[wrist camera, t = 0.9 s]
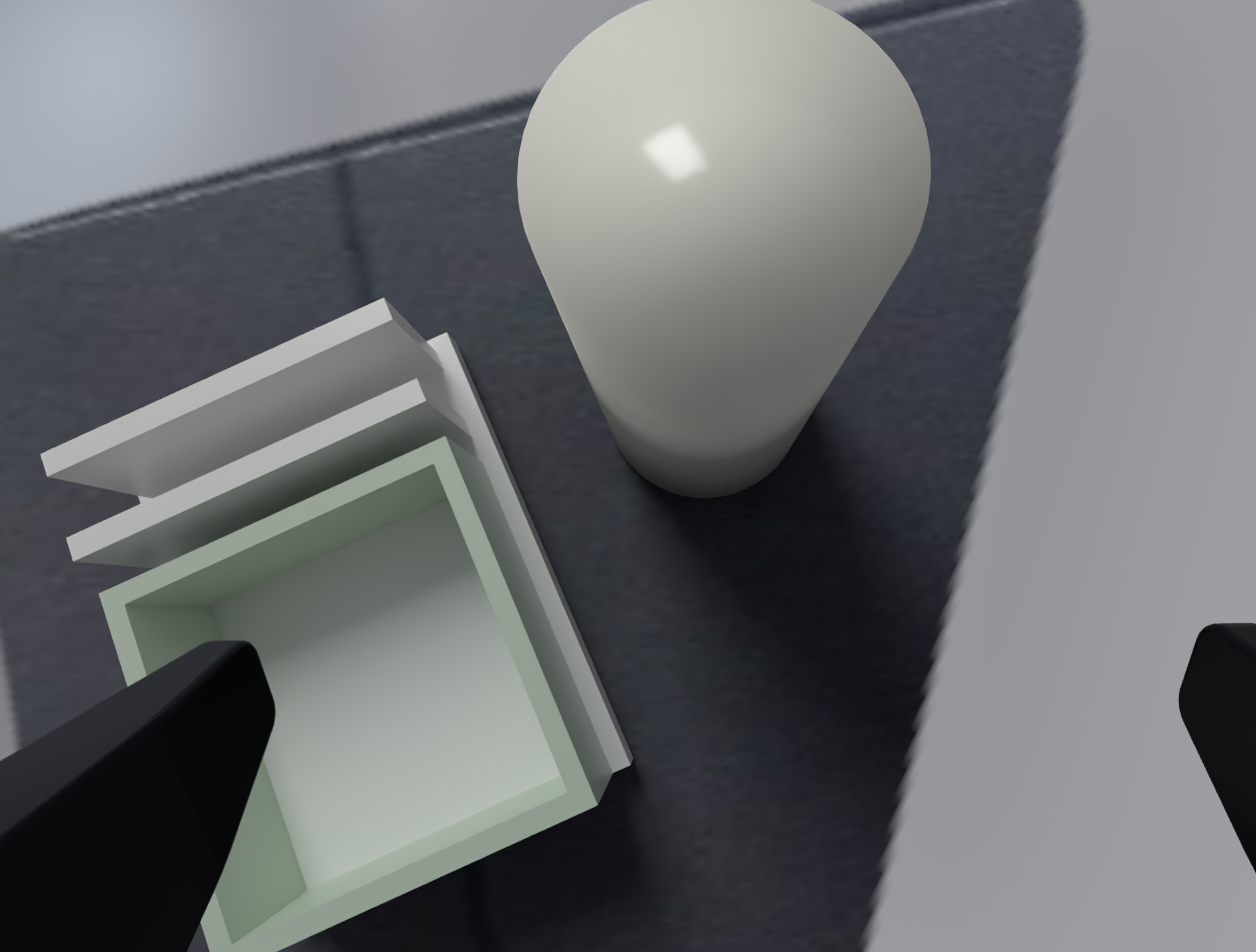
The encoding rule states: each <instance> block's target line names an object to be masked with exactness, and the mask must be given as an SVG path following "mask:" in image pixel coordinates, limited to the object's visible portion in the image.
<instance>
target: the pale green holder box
mask: <svg viewBox="0 0 1256 952" xmlns="http://www.w3.org/2000/svg"><path fill="white" fill-rule="evenodd" d="M40 455H41V458H42V461H43V464H44V468H45V471H46V474H47V477H51V478H56V479H61V480H66V481H70V482H75V483H80V484H85V485H89V486H94V487H99V488H104V489H109V490H113V491H118V492H123V493H128V494H132V495H137V496H138V497H139V500H140V503H141V504H140V505H137V506H135V507H133V508H131V509H129V510H126V511H124V512H122V513H120V514H118V515H115V516H113V517H111V518H109V519H107V520H104V521H102V522H100V523H98V524H96V525H93V526H91V527H89V528H87V529H85V530H82V531H80V532H78V533H76V534H74V535H72V536H69V537H67V538H66V539H67V543H68V546H69V549H70V552H71V556H72V559H73V561H74V562H86V563H98V564H111V565H123V566H135V567H148V568H154V569H152V570H150V571H148V572H145V573H143V574H141V575H139V576H137V577H134V578H132V579H130V580H128V581H126V582H123V583H121V584H119V585H117V586H115V587H112V588H110V589H108V590H106V591H104V592H101V593H99V596H100V599H101V602H102V606H103V609H104V612H105V615H106V619H107V622H108V625H109V628H110V631H111V635H112V638H113V641H114V644H115V648H116V651H117V654H118V657H119V660H120V664H121V667H122V670H123V673H124V677H125V680H126V683H127V686H130V685H132V684H133V683H135V682H137V681H139V680H140V679H142V678H144V677H145V676H147V675H149V674H151V673H152V672H154V671H156V670H158V669H159V668H161V667H163V666H164V665H166V664H168V663H170V662H171V661H173V660H175V659H176V658H178V657H180V656H182V655H183V654H185V653H187V652H188V651H190V650H192V649H194V648H195V647H197V646H199V645H201V644H202V643H205V642H208V641H213V640H245V641H248V642H250V643H251V644H252V645H253V646H254V647H255V648H256V650H257V652H258V655H259V657H260V660H261V663H262V666H263V669H264V672H265V675H266V678H267V681H268V684H269V686H270V689H271V692H272V695H273V698H274V702H275V709H276V715H275V723H274V727H273V731H272V733H271V736H270V739H269V742H268V745H267V748H266V751H265V754H264V757H263V759H262V762H261V765H260V768H259V771H258V774H257V777H256V780H255V783H254V785H253V788H252V791H251V794H250V797H249V800H248V803H247V806H246V809H245V811H244V814H243V817H242V820H241V823H240V826H239V829H238V832H237V835H236V837H235V840H234V843H233V846H232V849H231V851H230V854H229V857H228V859H227V862H226V865H225V867H224V870H223V872H222V875H221V877H220V879H219V882H218V884H217V886H216V889H215V891H214V893H213V895H212V898H211V900H210V902H209V904H208V906H207V909H206V911H205V913H204V915H203V917H202V919H201V925H202V928H203V931H204V934H205V938H206V941H207V944H208V947H209V950H210V952H277V951H279V950H281V949H283V948H286V947H288V946H290V945H292V944H294V943H297V942H299V941H301V940H303V939H305V938H307V937H310V936H312V935H314V934H316V933H318V932H321V931H323V930H325V929H327V928H329V927H332V926H334V925H336V924H338V923H340V922H343V921H345V920H347V919H349V918H351V917H354V916H356V915H358V914H360V913H362V912H365V911H367V910H369V909H371V908H373V907H376V906H378V905H380V904H382V903H384V902H387V901H389V900H391V899H393V898H395V897H398V896H400V895H402V894H404V893H406V892H408V891H411V890H413V889H415V888H417V887H419V886H422V885H424V884H426V883H428V882H430V881H433V880H435V879H437V878H439V877H441V876H444V875H446V874H448V873H450V872H452V871H455V870H457V869H459V868H461V867H463V866H466V865H468V864H470V863H472V862H474V861H477V860H479V859H481V858H483V857H485V856H488V855H490V854H492V853H494V852H496V851H498V850H501V849H503V848H505V847H507V846H509V845H512V844H514V843H516V842H518V841H520V840H523V839H525V838H527V837H529V836H531V835H534V834H536V833H538V832H540V831H542V830H545V829H547V828H549V827H551V826H553V825H556V824H558V823H560V822H562V821H564V820H567V819H569V818H571V817H573V816H575V815H578V814H580V813H582V812H584V811H586V810H589V809H591V808H593V807H595V806H597V805H598V804H599V802H600V800H601V797H602V795H603V793H604V791H605V789H606V787H607V785H608V783H609V781H610V778H611V776H612V774H613V773H614V772H616V771H619V770H621V769H623V768H625V767H627V766H630V765H631V763H632V760H633V756H632V754H631V751H630V749H629V747H628V744H627V742H626V740H625V737H624V735H623V733H622V730H621V728H620V726H619V723H618V721H617V719H616V716H615V714H614V711H613V709H612V707H611V704H610V702H609V700H608V697H607V695H606V693H605V690H604V688H603V686H602V683H601V681H600V679H599V676H598V674H597V672H596V669H595V667H594V665H593V662H592V660H591V657H590V655H589V653H588V650H587V648H586V646H585V643H584V641H583V639H582V636H581V634H580V632H579V629H578V627H577V625H576V622H575V620H574V618H573V615H572V613H571V611H570V608H569V606H568V604H567V601H566V599H565V596H564V594H563V592H562V589H561V587H560V585H559V582H558V580H557V578H556V575H555V573H554V571H553V568H552V566H551V564H550V561H549V559H548V557H547V554H546V552H545V550H544V547H543V545H542V542H541V540H540V538H539V535H538V533H537V531H536V528H535V526H534V524H533V521H532V519H531V517H530V514H529V512H528V510H527V507H526V505H525V503H524V500H523V498H522V496H521V493H520V491H519V488H518V486H517V484H516V481H515V479H514V477H513V474H512V472H511V470H510V467H509V465H508V463H507V460H506V458H505V456H504V453H503V451H502V449H501V446H500V444H499V442H498V439H497V437H496V434H495V432H494V430H493V427H492V425H491V423H490V420H489V418H488V416H487V413H486V411H485V409H484V406H483V404H482V402H481V399H480V397H479V395H478V392H477V390H476V388H475V385H474V383H473V381H472V378H471V376H470V373H469V371H468V369H467V366H466V364H465V362H464V359H463V357H462V355H461V352H460V350H459V348H458V345H457V343H456V342H455V341H454V340H453V339H452V338H451V336H450V335H449V334H448V333H447V332H446V333H444V334H442V335H440V336H438V337H435V338H433V339H431V340H429V341H427V342H426V341H425V339H424V338H423V337H422V336H421V335H420V334H419V333H418V332H417V331H416V330H415V329H414V328H413V327H412V326H411V325H410V324H409V323H408V322H407V321H406V320H405V319H404V318H403V317H402V316H401V315H400V314H399V313H398V312H397V311H396V310H395V309H394V308H393V307H392V306H391V305H390V304H389V303H388V302H387V301H386V299H385V298H382V299H380V300H378V301H376V302H373V303H371V304H369V305H367V306H365V307H362V308H360V309H358V310H356V311H354V312H351V313H349V314H347V315H345V316H343V317H340V318H338V319H336V320H334V321H332V322H329V323H327V324H325V325H323V326H321V327H318V328H316V329H314V330H312V331H310V332H307V333H305V334H303V335H301V336H299V337H296V338H294V339H292V340H290V341H288V342H285V343H283V344H281V345H279V346H277V347H275V348H272V349H270V350H268V351H266V352H264V353H261V354H259V355H257V356H255V357H253V358H250V359H248V360H246V361H244V362H242V363H239V364H237V365H235V366H233V367H231V368H228V369H226V370H224V371H222V372H220V373H217V374H215V375H213V376H211V377H209V378H206V379H204V380H202V381H200V382H198V383H195V384H193V385H191V386H189V387H187V388H184V389H182V390H180V391H178V392H176V393H174V394H171V395H169V396H167V397H165V398H163V399H160V400H158V401H156V402H154V403H152V404H149V405H147V406H145V407H143V408H141V409H138V410H136V411H134V412H132V413H130V414H127V415H125V416H123V417H121V418H119V419H116V420H114V421H112V422H110V423H108V424H105V425H103V426H101V427H99V428H97V429H94V430H92V431H90V432H88V433H86V434H83V435H81V436H79V437H77V438H75V439H73V440H70V441H68V442H66V443H64V444H62V445H59V446H57V447H55V448H53V449H51V450H48V451H46V452H44V453H42V454H40Z"/></svg>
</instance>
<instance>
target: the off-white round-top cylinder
mask: <svg viewBox="0 0 1256 952" xmlns="http://www.w3.org/2000/svg"><path fill="white" fill-rule="evenodd" d="M930 180H931V169H930V150H929V144H928V138H927V133H926V127H925V124H924V121H923V118H922V115H921V112H920V109H919V106H918V104H917V102H916V100H915V97H914V95H913V93H912V91H911V89H910V87H909V85H908V83H907V82H906V80H905V79H904V77H903V76H902V74H901V73H900V71H899V70H898V68H897V67H896V65H895V64H894V62H893V61H892V60H891V59H890V58H889V57H888V56H887V54H886V53H885V52H884V51H883V50H882V49H881V48H880V47H879V46H878V45H877V43H876V42H874V41H873V40H872V39H871V38H870V37H869V36H867V35H866V34H865V33H864V32H863V31H861V30H860V29H859V28H858V27H857V26H855V25H854V24H852V23H851V22H849V21H848V20H846V19H844V18H843V17H841V16H840V15H838V14H837V13H835V12H833V11H831V10H829V9H827V8H825V7H823V6H820V5H819V4H816V3H814V2H812V1H809V0H649V1H646V2H644V3H641V4H638V5H636V6H634V7H632V8H630V9H628V10H626V11H624V12H623V13H621V14H619V15H617V16H615V17H613V18H612V19H610V20H609V21H607V22H606V23H604V24H603V25H602V26H600V27H599V28H597V29H596V30H594V31H593V32H592V33H591V34H589V35H588V36H587V37H586V38H585V39H584V40H582V41H581V42H580V43H579V44H578V45H577V46H576V47H575V48H573V50H572V51H571V52H570V53H569V54H568V55H567V56H566V58H565V59H564V60H563V61H562V62H561V63H560V64H559V65H558V67H557V68H556V69H555V71H554V72H553V74H552V75H551V76H550V78H549V79H548V81H547V82H546V84H545V85H544V87H543V88H542V90H541V92H540V94H539V96H538V98H537V100H536V102H535V104H534V106H533V108H532V110H531V113H530V116H529V119H528V122H527V124H526V127H525V130H524V133H523V138H522V143H521V148H520V153H519V160H518V176H517V185H518V198H519V207H520V212H521V216H522V221H523V225H524V230H525V232H526V235H527V238H528V240H529V243H530V246H531V248H532V251H533V253H534V256H535V258H536V260H537V263H538V265H539V267H540V269H541V272H542V274H543V276H544V279H545V281H546V283H547V286H548V288H549V290H550V292H551V295H552V297H553V299H554V302H555V304H556V306H557V309H558V311H559V313H560V315H561V318H562V320H563V322H564V325H565V327H566V329H567V331H568V334H569V336H570V338H571V341H572V343H573V345H574V348H575V350H576V352H577V354H578V357H579V359H580V361H581V364H582V366H583V368H584V371H585V373H586V375H587V377H588V380H589V382H590V384H591V387H592V389H593V391H594V393H595V396H596V398H597V400H598V403H599V405H600V407H601V410H602V412H603V414H604V416H605V419H606V421H607V423H608V426H609V428H610V430H611V433H612V435H613V437H614V439H615V442H616V444H617V446H618V447H619V449H620V451H621V453H622V455H623V456H624V457H625V459H626V460H627V461H628V463H629V464H630V465H631V466H632V467H633V468H634V469H635V470H636V471H637V472H638V473H639V474H640V475H641V476H642V477H644V478H645V479H646V480H647V481H649V482H651V483H652V484H654V485H656V486H657V487H659V488H661V489H664V490H666V491H668V492H671V493H674V494H678V495H681V496H686V497H693V498H715V497H723V496H727V495H731V494H735V493H737V492H740V491H743V490H745V489H747V488H749V487H751V486H753V485H755V484H757V483H758V482H759V481H761V480H762V479H764V478H765V477H766V476H768V475H769V474H770V473H771V472H772V471H773V470H774V469H775V468H776V467H777V466H778V465H779V464H780V462H781V461H782V460H783V459H784V457H785V456H786V454H787V453H788V451H789V449H790V448H791V446H792V444H793V443H794V441H795V440H796V438H797V436H798V435H799V433H800V432H801V430H802V428H803V427H804V425H805V423H806V422H807V420H808V419H809V417H810V415H811V414H812V412H813V410H814V409H815V407H816V406H817V404H818V402H819V401H820V399H821V397H822V396H823V394H824V393H825V391H826V389H827V388H828V386H829V385H830V383H831V381H832V380H833V378H834V376H835V375H836V373H837V372H838V370H839V368H840V367H841V365H842V363H843V362H844V360H845V359H846V357H847V355H848V354H849V352H850V351H851V349H852V347H853V346H854V344H855V342H856V341H857V339H858V338H859V336H860V334H861V333H862V331H863V329H864V328H865V326H866V325H867V323H868V321H869V320H870V318H871V317H872V315H873V313H874V312H875V310H876V308H877V307H878V305H879V304H880V302H881V300H882V299H883V297H884V295H885V294H886V292H887V291H888V289H889V287H890V286H891V284H892V282H893V281H894V279H895V278H896V276H897V274H898V273H899V271H900V269H901V268H902V266H903V265H904V263H905V261H906V260H907V258H908V256H909V255H910V253H911V251H912V248H913V246H914V244H915V241H916V239H917V237H918V234H919V232H920V230H921V227H922V223H923V219H924V216H925V212H926V208H927V205H928V197H929V189H930Z"/></svg>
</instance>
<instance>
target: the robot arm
mask: <svg viewBox="0 0 1256 952" xmlns="http://www.w3.org/2000/svg"><path fill="white" fill-rule="evenodd" d="M1179 709H1180V713H1181V717H1182V719H1183V722H1184V724H1185V726H1186V728H1187V730H1188V732H1189V735H1190V737H1191V739H1192V741H1193V743H1194V745H1195V747H1196V749H1197V751H1198V754H1199V755H1200V758H1201V760H1202V762H1203V764H1204V766H1205V768H1206V770H1207V773H1208V775H1209V777H1210V779H1211V781H1212V783H1213V785H1214V787H1215V790H1216V792H1217V794H1218V796H1219V798H1220V800H1221V802H1222V804H1223V806H1224V809H1225V811H1226V813H1227V815H1228V817H1229V819H1230V821H1231V823H1232V825H1233V828H1234V830H1235V832H1236V834H1237V836H1238V838H1239V840H1240V842H1241V844H1242V847H1243V849H1244V851H1245V853H1246V855H1247V857H1248V859H1249V861H1250V863H1251V865H1252V866H1253V868H1254V870H1255V872H1256V624H1254V623H1223V624H1222V623H1220V624H1211V625H1209V626H1206V627H1205V628H1203V630H1202V631H1201V632H1200V633H1199V635H1198V637H1197V639H1196V642H1195V645H1194V648H1193V652H1192V655H1191V657H1190V660H1189V664H1188V667H1187V670H1186V673H1185V676H1184V679H1183V682H1182V685H1181V688H1180V692H1179ZM275 715H276V709H275V702H274V698H273V695H272V692H271V689H270V686H269V684H268V681H267V678H266V675H265V672H264V669H263V666H262V663H261V660H260V657H259V655H258V652H257V650H256V648H255V647H254V646H253V645H252V644H251V643H250V642H248V641H245V640H213V641H208V642H205V643H202V644H201V645H199V646H197V647H195V648H194V649H192V650H190V651H188V652H187V653H185V654H183V655H182V656H180V657H178V658H176V659H175V660H173V661H171V662H170V663H168V664H166V665H164V666H163V667H161V668H159V669H158V670H156V671H154V672H152V673H151V674H149V675H147V676H145V677H144V678H142V679H140V680H139V681H137V682H135V683H133V684H132V685H130V686H128V687H127V688H125V689H123V690H121V691H120V692H118V693H116V694H115V695H113V696H111V697H109V698H108V699H106V700H104V701H102V702H101V703H99V704H97V705H96V706H94V707H92V708H90V709H89V710H87V711H85V712H84V713H82V714H80V715H78V716H77V717H75V718H73V719H72V720H70V721H68V722H66V723H65V724H63V725H61V726H59V727H58V728H56V729H54V730H53V731H51V732H49V733H47V734H46V735H44V736H42V737H41V738H39V739H37V740H35V741H34V742H32V743H30V744H29V745H27V746H25V747H23V748H22V749H20V750H18V751H16V752H15V753H13V754H11V755H10V756H8V757H6V758H4V759H3V760H1V761H0V952H187V950H188V948H189V945H190V943H191V941H192V939H193V937H194V935H195V932H196V930H197V928H198V926H199V924H200V922H201V919H202V917H203V915H204V913H205V911H206V909H207V906H208V904H209V902H210V900H211V898H212V895H213V893H214V891H215V889H216V886H217V884H218V882H219V879H220V877H221V875H222V872H223V870H224V867H225V865H226V862H227V859H228V857H229V854H230V851H231V849H232V846H233V843H234V840H235V837H236V835H237V832H238V829H239V826H240V823H241V820H242V817H243V814H244V811H245V809H246V806H247V803H248V800H249V797H250V794H251V791H252V788H253V785H254V783H255V780H256V777H257V774H258V771H259V768H260V765H261V762H262V759H263V757H264V754H265V751H266V748H267V745H268V742H269V739H270V736H271V733H272V731H273V727H274V723H275Z"/></svg>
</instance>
